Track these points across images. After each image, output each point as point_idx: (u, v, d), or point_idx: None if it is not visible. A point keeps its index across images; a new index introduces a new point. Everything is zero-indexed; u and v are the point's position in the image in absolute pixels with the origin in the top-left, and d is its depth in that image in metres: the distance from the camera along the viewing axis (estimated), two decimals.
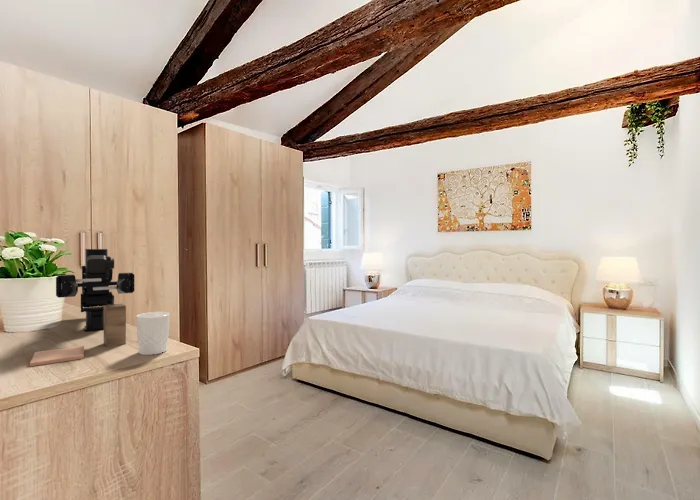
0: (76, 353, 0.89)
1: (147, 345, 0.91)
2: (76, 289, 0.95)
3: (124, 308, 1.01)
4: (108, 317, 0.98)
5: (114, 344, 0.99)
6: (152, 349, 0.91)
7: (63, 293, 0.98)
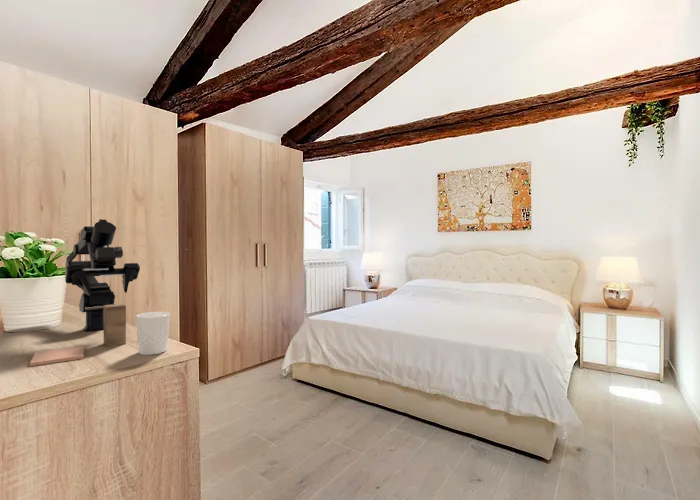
0: (76, 353, 0.89)
1: (147, 345, 0.91)
2: (89, 294, 1.03)
3: (124, 308, 1.01)
4: (108, 317, 0.98)
5: (114, 344, 0.99)
6: (152, 349, 0.91)
7: (73, 282, 1.05)
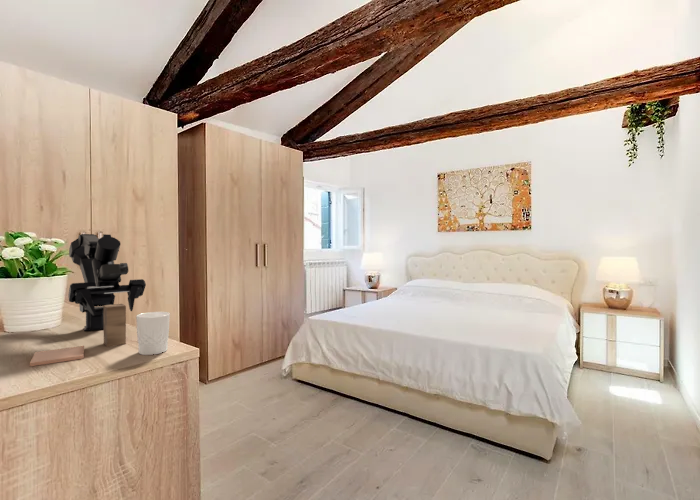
0: (76, 353, 0.89)
1: (147, 345, 0.91)
2: (93, 314, 0.99)
3: (124, 308, 1.01)
4: (108, 317, 0.98)
5: (114, 344, 0.99)
6: (152, 349, 0.91)
7: (77, 301, 1.00)
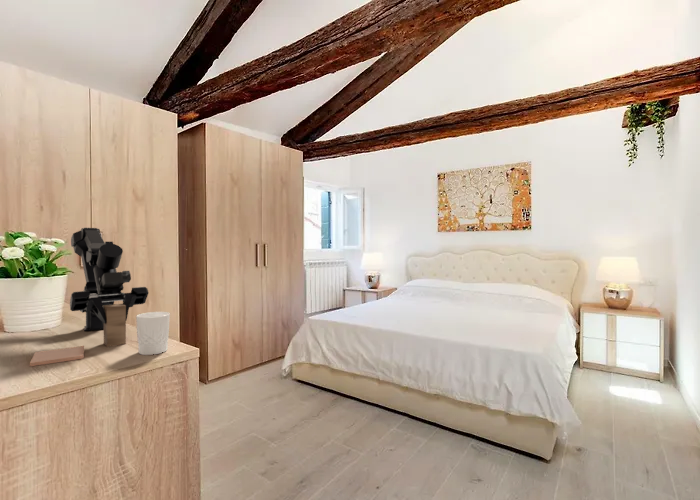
0: (76, 353, 0.89)
1: (147, 345, 0.91)
2: (105, 322, 0.98)
3: (124, 308, 1.01)
4: (108, 317, 0.98)
5: (114, 344, 0.99)
6: (152, 349, 0.91)
7: (88, 309, 1.00)
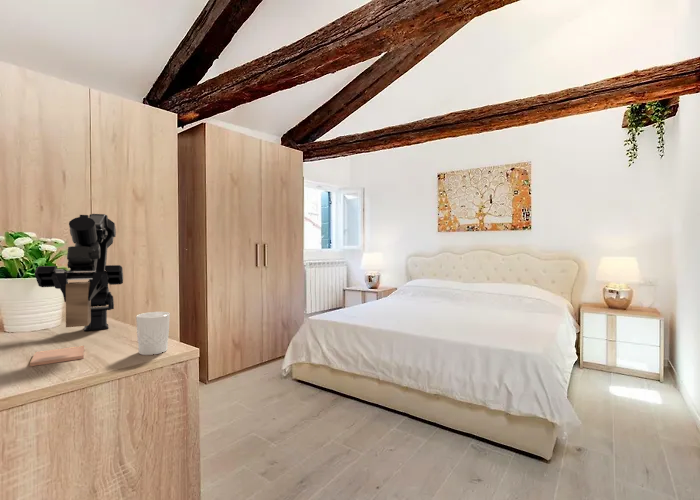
0: (76, 353, 0.89)
1: (147, 345, 0.91)
2: (65, 301, 0.90)
3: (86, 286, 0.91)
4: (67, 295, 0.89)
5: (74, 325, 0.90)
6: (152, 349, 0.91)
7: (56, 286, 0.93)
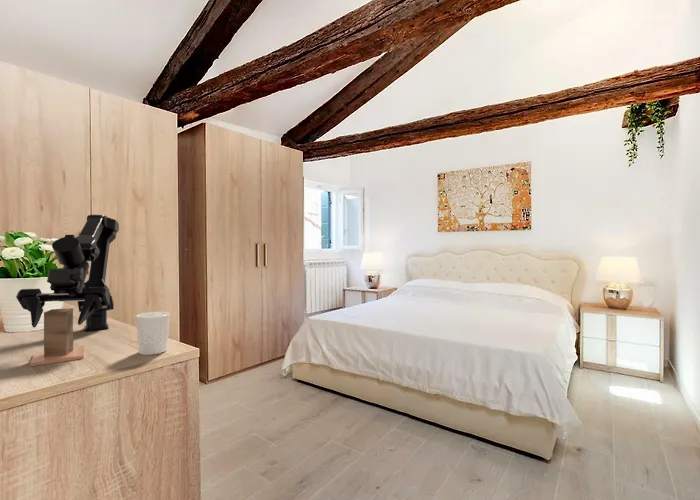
0: (76, 353, 0.89)
1: (147, 345, 0.91)
2: (33, 326, 0.86)
3: (64, 314, 0.87)
4: (45, 323, 0.86)
5: (52, 355, 0.87)
6: (152, 349, 0.91)
7: (29, 309, 0.90)
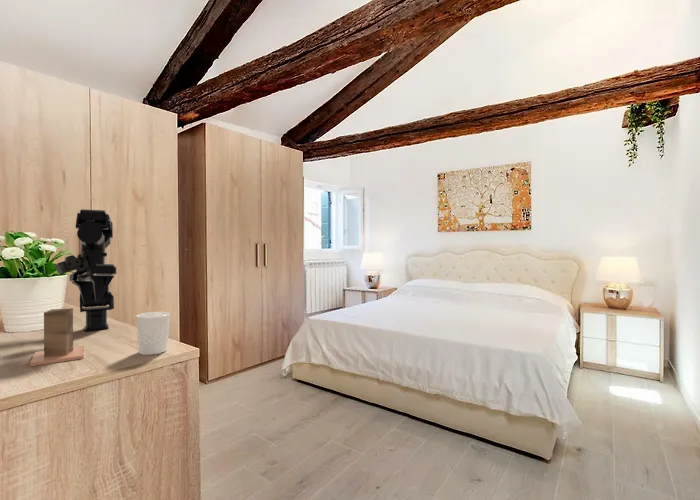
0: (76, 353, 0.89)
1: (147, 345, 0.91)
2: None
3: (64, 314, 0.87)
4: (45, 323, 0.86)
5: (52, 355, 0.87)
6: (152, 349, 0.91)
7: None
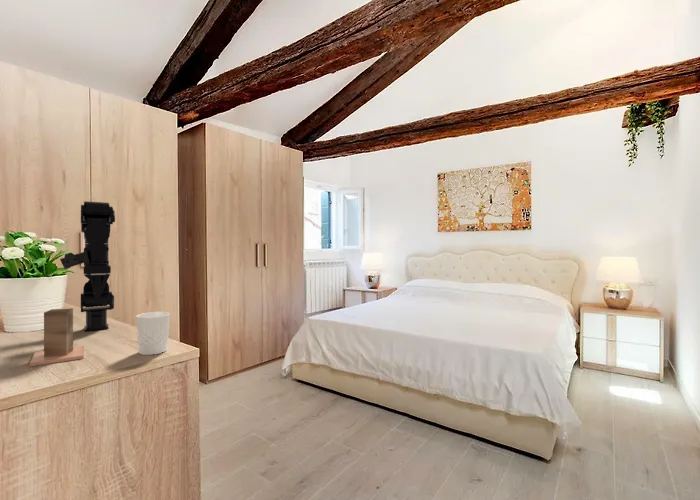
0: (76, 353, 0.89)
1: (147, 345, 0.91)
2: None
3: (64, 314, 0.87)
4: (45, 323, 0.86)
5: (52, 355, 0.87)
6: (152, 349, 0.91)
7: None
